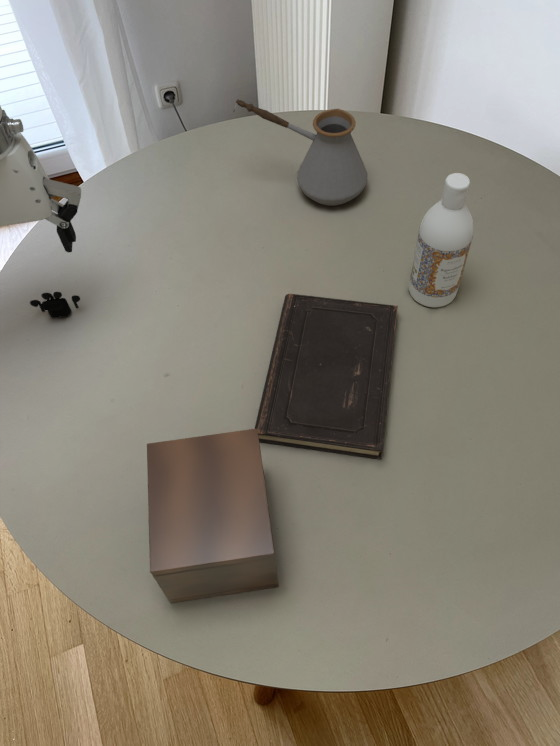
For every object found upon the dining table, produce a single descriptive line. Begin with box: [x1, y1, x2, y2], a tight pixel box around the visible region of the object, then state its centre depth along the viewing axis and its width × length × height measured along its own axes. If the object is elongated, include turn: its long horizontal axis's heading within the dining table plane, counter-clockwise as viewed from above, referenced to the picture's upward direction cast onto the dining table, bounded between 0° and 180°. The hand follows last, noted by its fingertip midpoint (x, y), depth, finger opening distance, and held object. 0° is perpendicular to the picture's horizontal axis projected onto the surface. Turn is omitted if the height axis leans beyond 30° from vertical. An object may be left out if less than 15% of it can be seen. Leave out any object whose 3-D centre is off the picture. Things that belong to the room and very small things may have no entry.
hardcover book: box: [254, 293, 399, 460], centre depth 86 cm, size 16×23×2 cm
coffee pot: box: [232, 99, 369, 207], centre depth 103 cm, size 21×12×15 cm, turn 77°
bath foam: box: [408, 172, 474, 308], centre depth 87 cm, size 7×7×20 cm
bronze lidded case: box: [146, 428, 279, 604], centre depth 71 cm, size 12×14×11 cm
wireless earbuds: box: [29, 291, 81, 319], centre depth 92 cm, size 7×2×5 cm, turn 97°
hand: (32, 249), depth 84 cm, fingers open, 9 cm apart
